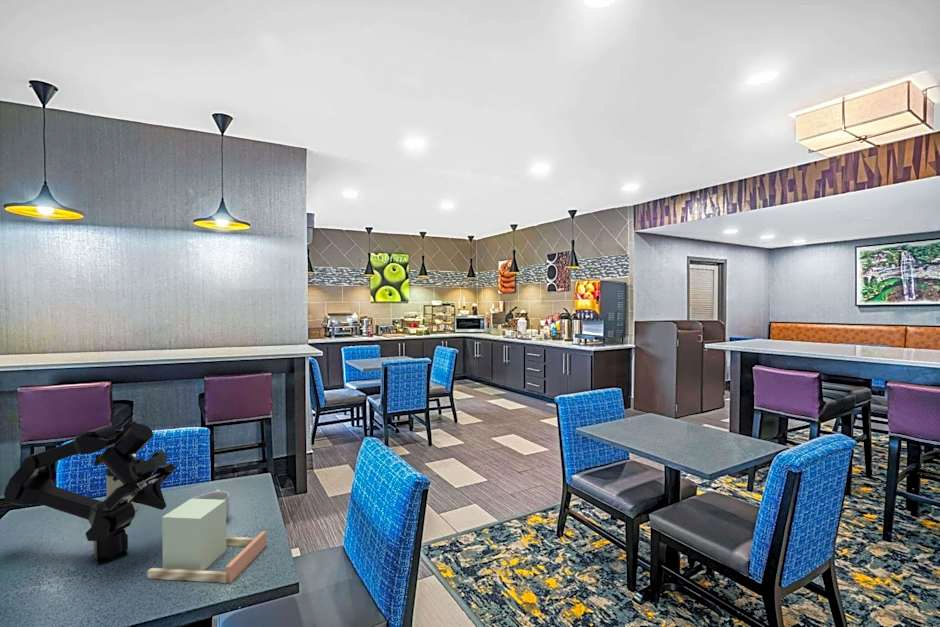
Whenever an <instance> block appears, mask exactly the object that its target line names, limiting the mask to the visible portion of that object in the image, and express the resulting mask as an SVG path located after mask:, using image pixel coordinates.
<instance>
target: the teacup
mask: <svg viewBox="0 0 940 627" xmlns="http://www.w3.org/2000/svg"><path fill="white" fill-rule="evenodd" d="M192 499H215V500H226V518H227V517H228V516H229V513H230V493H229V492H228V491H223V490H222V489H220V488H219V489H215V491H211V492H205V493H202V494H200V495H197V496H195V497H193V498H192Z"/></svg>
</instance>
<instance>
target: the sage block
mask: <svg viewBox="0 0 940 627" xmlns="http://www.w3.org/2000/svg"><path fill="white" fill-rule="evenodd" d="M161 525H162V526H161V528H162V529H161V532H162V544H161V545H162V547H161V548H162V568H163V569H183V570H203V571H206V570H207V569H208V568H209V567H210V566H211V565H212V564H213V563H214V562H215V561H216V560H217V559H218V558H220V556H222V555H223V554H224V553H225V552H226V551H227V546H226V537H227V517H226V500H215V499H193V498H190V499H188V500H187V501H185V502H184V503H182V504H180V505H178V507H175V508H174V509H172V510H171V511H169V512H168V513H166V514H165V515H163V516H162V517H161Z"/></svg>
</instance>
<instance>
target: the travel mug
mask: <svg viewBox="0 0 940 627" xmlns="http://www.w3.org/2000/svg"><path fill="white" fill-rule="evenodd" d="M136 454H137V453H136ZM136 454H132V455H133V456H134V457H135V458H136V457H137V455H136ZM105 471H106V472H105V475H106V476H105V478H106V479H105V482H106V484H105V485H106V499H107V498H108V497H109V496H110V495H111V494H112V492H113V491H114V490H115V489H116V488H118V487H120V486H122V485H123V484H122V483H121V482H120V480H117V481H114V480H113V478H114V476H115V475H114V474H113V473H112V472H111V471H110V470H109V469H108V468H107V467H106V469H105ZM123 499H128V501H127V502H129V501H130V500H131V499H132V497H131V495H129V496H127V497H125V498H123ZM132 504H133V507H134V509H135V512H136V511H137V510H139V509H138V508H139V507H138V506H139V505H138V504H139V503H135V502H132Z"/></svg>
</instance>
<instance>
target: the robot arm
mask: <svg viewBox="0 0 940 627" xmlns="http://www.w3.org/2000/svg"><path fill="white" fill-rule="evenodd" d="M153 437H154V432H153V430H152V429H151V428H150V427H149V426H146V425H145V424H142V423H137V421H136V420H134V421H130V422H127V424H126V425H125V426H124V428H123V429H122V430H121V429H116V428H114V427H112V426H111V425H104V426H101V427H98V428H94V429H91V430H89V431H86V432H83V433H81V435H78V436H76V437H75V438H74V439H73V440H72V441H70V442H68V443H67V442H66V443H65V444H62V445H59V446H56V447H52V448H50V449H48V450H42V451H39V452H36V453H33V454H31V455H28V456H27V457H25V458H24V459H23V461H22V463H21V466H20V467H19V468H18V469H17V470H16V472H15V473H14V474H13V475H12V476H11V477H10V478H9V480H8V483H7V485H6V486H5V489H4V492H3V495H4V496H3V497H4V499H5V500H6V501H7V502H8V503H10V504H12V505H19V506H30V505H31V506H33V505H41V506H45V507H47V508H50V509H54V510H57V511H60V512H63V513H66V514H69V515H72V516H75V517H79V518H81V519H85V520H87V521H88V522H89V524H90V527H89V529H88V530H87V531H86V532H85V536H86V539H87V541H89V542H93V554H91V558H92V559H93V560H94V562H95V563H96V564H97V565H102V564H105V563H108V562H111V561H114V560H117V559H119V558H121V557H125V556H128V554H129V552H128V551H127V550H128V549H129V535H128V534H127V533H126V530H125V529H126V528H128V527H130V526H131V524H132V521H133V520H134V519H135V516H136V511H135V509H134V507H133V504H132V502H135V503H138V504H140V505H144V506H148V507H152V508H155V509H158V510H161V511H163V510H164V509H165V508H166V507H167V503H166V501H165V498H164V495H163V492H162V487H161V484H162V483H164V482H165V481H166V480H167V478H169V477H170V476H171V475H172V474H173V473H174V472H175V471H176V470H177V468H176V466H175V465H174V464H173V463H169V462H168V463H167V462H166V461H167V460H168V454H166V452H165V451H164V450H162V449H160V450H158V451H156V452H154V453H152V457H151V458H149V459H146V460H145V459H144V458H142V457H139V458H136V457H134V456H133V455H132V454H137V453H138V452H139V451H141V450H142V448H144V447H145V445H147V443H148V442H149V441H150V440H152V438H153ZM104 449H105V450H104ZM101 450H104V451H103V452H102V453H101V452H100V453H99V454H96V455H95V460H94V462H93V466H94V467H98V466H101V465H105V467H106V469H107V468H108V469H109V470H110V471H111V472H112V473H113V474H114V475H115V476H114V478H113V480H114V481H117V480H120V482H121V483H122V484H123V485H122V486H120V487H118V488H116V489H115V490H114V491H113V492H112V494H111V495H110V496H109V497H108V498H107V497H106V498H105V499H104V500H103V501H102V500H98V499H96V498H92V497H90V496H87V495H83V494H80V493H76V492H74V491H71V490H67V489H64V488H61V487H58V486H55V484H54V481H53V480H52V479H51V476H52V474H53V472H52V467H51V466H52V463H55V462H58V461H61V460H63V459H67V458H70V457H72V456H76V455H77V456H78V455H80V456H82V455H83V456H84V455H89V454H94V453H97V452H99V451H101ZM36 470H37V473H36V472H35V471H36ZM129 495H131V497H132V499H131V500H130V501H129V502H127V501H128V499H123V498H125V497H127V496H129Z"/></svg>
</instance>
